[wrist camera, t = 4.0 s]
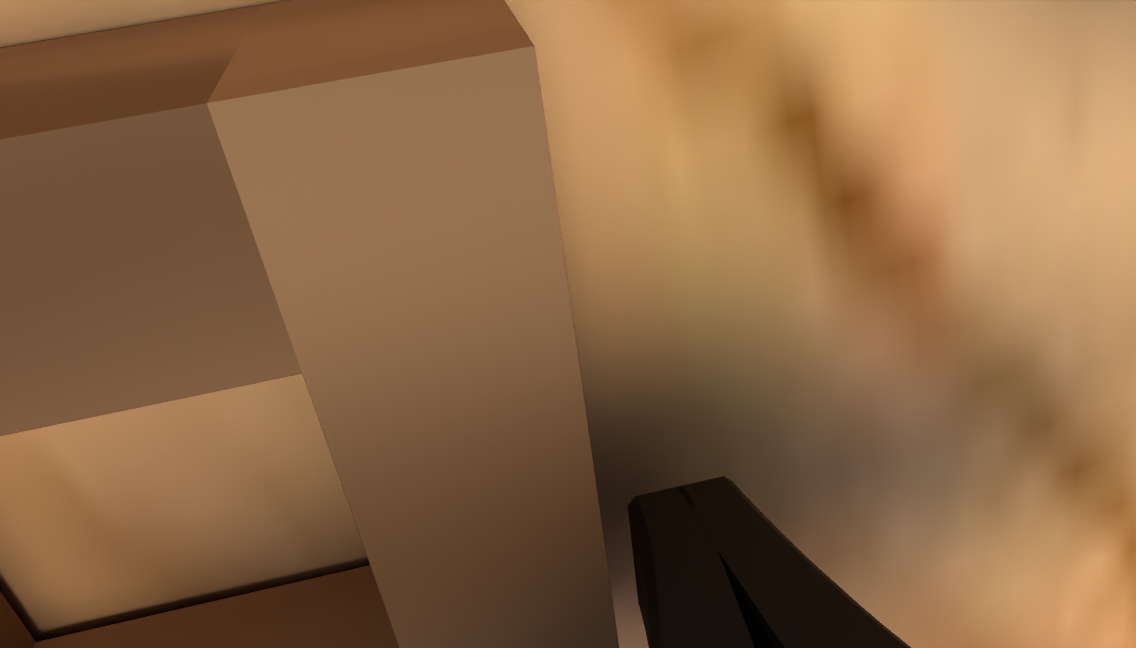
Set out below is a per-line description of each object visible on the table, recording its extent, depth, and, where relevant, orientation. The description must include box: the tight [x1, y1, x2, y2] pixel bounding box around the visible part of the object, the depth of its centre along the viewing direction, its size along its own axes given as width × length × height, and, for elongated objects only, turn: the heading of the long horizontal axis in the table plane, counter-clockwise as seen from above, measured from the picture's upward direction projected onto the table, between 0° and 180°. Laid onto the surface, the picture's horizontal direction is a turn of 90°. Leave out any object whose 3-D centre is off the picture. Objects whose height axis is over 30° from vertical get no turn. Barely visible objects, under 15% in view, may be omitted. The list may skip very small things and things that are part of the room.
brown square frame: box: [0, 0, 619, 648], centre depth 9 cm, size 9×9×3 cm
